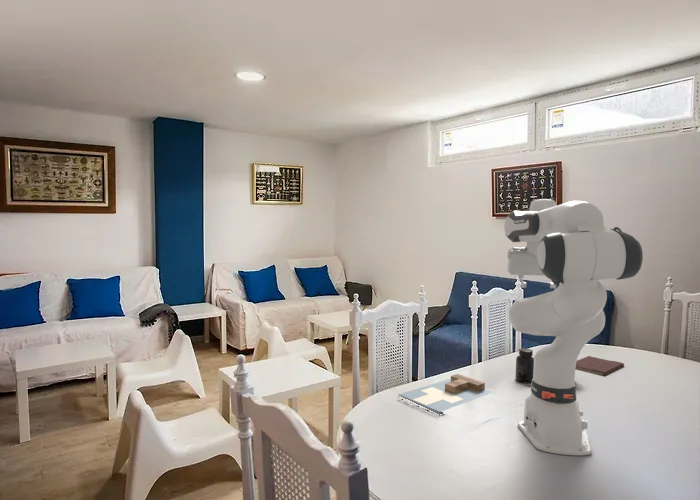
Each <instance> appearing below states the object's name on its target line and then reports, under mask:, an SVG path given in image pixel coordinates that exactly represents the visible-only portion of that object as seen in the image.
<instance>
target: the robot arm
mask: <svg viewBox="0 0 700 500" xmlns="http://www.w3.org/2000/svg"><path fill="white" fill-rule="evenodd" d="M556 203H557V202H556V201H555V200H553V199H551V198H549V199H548V198H546V199H545V198H544V199H543V198H541V199H534V200H532V201H531V202H530V204H529V210H527V211H526V210H525V211H524V210H523V211H522V210H512V211H511V212H510V213H508V215H507V216H506V217H505V221H504V233H505V236H506V238H508V239H509V241H511V242H512V243H521V242H523V243H524V242H526V247H522V246H521V247H515V246H514V247H512V248H510V249H509V250H508V251H507V259H508V263H507V272H508V273H509V275H511V276H515V275H516V276H517V277H518V279H519V281H520V287H521V289H526V288H527V285H528V283H527V282H526V281H524V280H523V279H524V276H545V277H546V278H547V279H549V280H551V282H550V283H549V288H550V289H553V290H552V291H548V292H544V293H541V294H538V295H534V296H530V297H526V298H525V297H524V298H517V299H516V300H514V302H513V303H512V305H511V306H510V308H509V312H508V313H509V314H508V317H509V322H510V325H511V326H512V327H513V329H514V330H515V331H516V332H518V333H522V334H526V335H530V336H543V337H544V336H545V337H555V339H553V342H552V343H550V344H549V345H546V346H544V347H541V348H540V349H538V350H537V351H536V352H535V354H534V355H533V356H534V357H533V358H534V371H533V379H532V382H531V383H530V387H531V388H530V392H531V393H530V395H529V396H527V397H526V398H525V399H524V400H525V403H524V411H523V413H524V414H523V420H521V421H518V423H517V427H518V428H519V430H521V432H522V433H523V435H525V437H526V438H527V439H528V440H529V442H530V443H531V444H532V445H533V447H535V449H537V450H540V451H543V452H546V453H551V454H557V455H565V456H587V455H588V456H589V455H591V454H592V449H591V444H590V441H589V436H588V432H587V430H588V421H587V420H582V419H581V417H583V416H584V412H583V411H582V410H580V407H579V406H580V402H579V401H577V387H576V384H575V378H576V376H575V375H576V369H575V368H576V361H578V357H579V355H580V353H581V351H582V350H583V348H584V347H585V345H586V344H588V343H589V341H591V340H592V339H593V338H595V337H597V336H598V335H600V334H601V332H602V331H603V329H604V328H605V325H606V314H605V312H604V308H605V306H606V303H607V299H608V295H607V294H608V293H607V289H606V288H605V286H604V285H603V283H602V282H601V280H613V279H615V280H617V281H618V280H625V279H626V280H627V279H630V278H633V277H635V276H636V275H637V274H638V273H639V272H640V270H641V268H642V266H643V265H642V264H643V258H644V257H643V256H644V255H643V249H642V248H643V247H642V246H641V243H640V242H639V240H637V239H636V237H634V236H633V235H631V234H630V233H627V232H624V231H622V229H621V228H620V227H618V226H614V228H610V229H609V228H607V227H605V225H604V221H605V220H604V215H603V213H602V212H601V210H600V209H599V207H598V206H596V205H594V204H593V203H591V202H587V201H583V200H572V201H568V202H563V203H561V204H558V205H557V204H556ZM599 280H600V281H599Z"/></svg>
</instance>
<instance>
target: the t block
mask: <svg viewBox="0 0 700 500" xmlns="http://www.w3.org/2000/svg"><path fill="white" fill-rule="evenodd" d="M450 378H451V382H448V383H445V391H447V392H450V393H453V394H455V393H458V392H461V391H464V390H467V389H470V390H473V391H476V392H480V391H483V390H485V389H486V382H484V381H480V380H477V379H474V378H472V377H468V376H465V375H463V374H460V373H456V374H452V375H450Z"/></svg>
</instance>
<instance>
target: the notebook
mask: <svg viewBox="0 0 700 500" xmlns="http://www.w3.org/2000/svg"><path fill="white" fill-rule="evenodd" d="M624 367H625V363H624V362H620V361H616V360H607V359H605V358H600V357H599V358H598V357H595V356H590V355H587V356H585V357H583V358H580V359H577V361H576V368H575V370H579V371H582V372H588V373H590V374H591V373H592V374H595V375H600V376H603V377H605V376H608V375H609V374H611V373H614V372H615V371H618V370H620V369H621V368H624Z"/></svg>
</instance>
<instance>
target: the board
mask: <svg viewBox="0 0 700 500" xmlns="http://www.w3.org/2000/svg"><path fill="white" fill-rule="evenodd" d="M448 382H451V377H450V378H447V379H445V380H441V381H439V382H435V383H434V382H433V383H432V384H428V385H426V386H422V387H419V388H415V389H412V390H410V391H406V392H403V393H399V394H398V397H399V396H401V397H403V398H405V399H408V400H410V401H412V402H414V403H416V404H418V405H421V406H423V407H425V408H427V409H429V410H431V411H433V412H435V413H437V414H439V415H440V414H443V413H444V411H445V410H446V411H447V410H448V409H451V408H454V407H456V406H460V405H462V404H464V403H467V402H470V401H473V400H476V399H479V398H480V397H481V398H482V397H483V396H485V395H489V394H491V393H493V391H491V390H488V389H486V388H485V390H483V391H480V392H476V391H473V390H470V389H467V390H464V391H461V392H458V393H455V394H453V393H450V392H447V391H445V383H448Z"/></svg>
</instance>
